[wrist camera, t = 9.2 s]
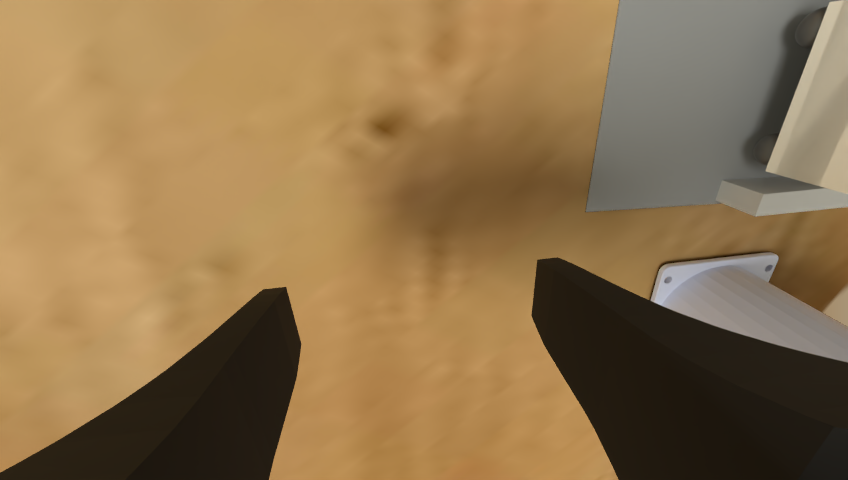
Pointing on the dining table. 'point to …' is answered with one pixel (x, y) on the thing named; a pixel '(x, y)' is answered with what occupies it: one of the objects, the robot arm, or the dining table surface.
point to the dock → (701, 106)
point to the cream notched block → (816, 107)
